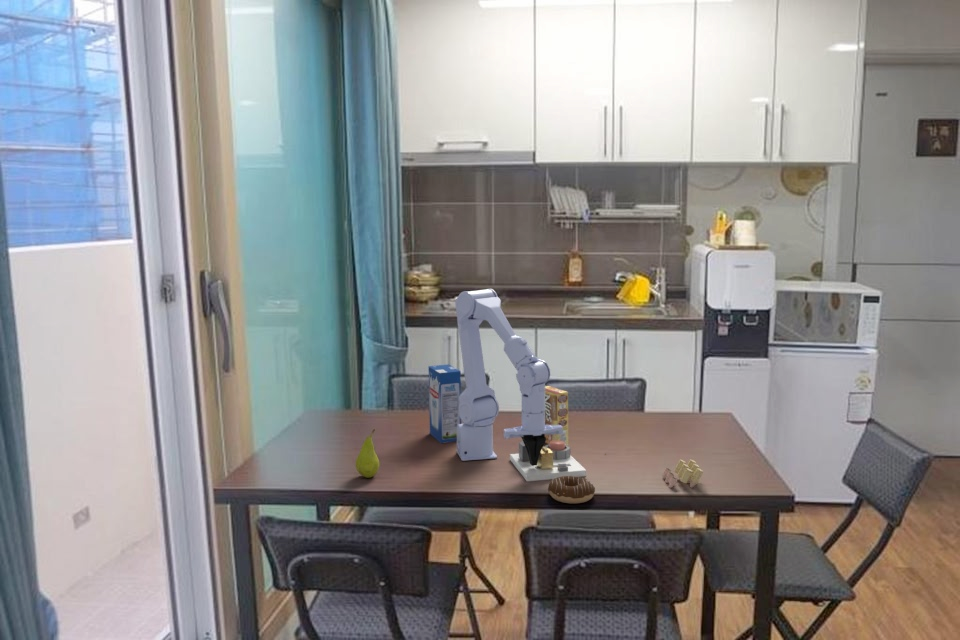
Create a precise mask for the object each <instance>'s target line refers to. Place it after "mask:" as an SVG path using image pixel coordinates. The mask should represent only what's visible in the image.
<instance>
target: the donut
mask: <svg viewBox="0 0 960 640" xmlns="http://www.w3.org/2000/svg"><path fill="white" fill-rule="evenodd" d="M547 490H548V494H549V495H550V496H551V498H552V499H554V500H555V501H557V502H561V503H564V504H582V503H586V502H588V501H590V500H592V498H593V497H594V495H595V492H596V488H595V486H594V483H592V482H591V481H589V480H587V479H585V478H584V477H575V476H562V477H557V478H555V479H551V480H550V481H549V483H548V487H547Z"/></svg>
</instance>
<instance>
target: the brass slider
mask: <svg viewBox="0 0 960 640" xmlns="http://www.w3.org/2000/svg"><path fill="white" fill-rule="evenodd" d="M545 446H546V445H543V447H542V449H541V452H540V454H539V458H538V462H537V465H538V466H539V467H540V468H541V469H550V468H553V452H552V451H551V450H550V449H549V448H546V447H545Z"/></svg>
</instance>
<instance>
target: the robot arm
mask: <svg viewBox="0 0 960 640" xmlns="http://www.w3.org/2000/svg"><path fill="white" fill-rule="evenodd" d="M498 296H499V295H498V294H497V292H496V291H495V290H494V289H493V288H486V289H478V290H477V289H476V290H470V291H468V290H467V291H466V290H464V291H461V292H460V293H459V295H458V296H457V298H456V299H455V301H454V304H455V310H456V318H457V319H456V320H457V329H458V336H459V343H460V344H459V346H460V351H461V352H460V353H461V357H462V365H463V375H464V382H465V389H464V390H462V391H461V395H460V396H459V401H460V404H459V416H460V418H461V422H462V423H461V424H458V425H457V441H456V454H457V455H458V456H459V458H460V460H461V461H462V462H465V461H466V462H467V461H477V460H488V459H497V458H498V455H497V454H496V453H495V451H494V440H493V439H494V438H493V437H494V433H493V431H494V430H493V427H494V426H493V424H494V422H495V420H496V417H497V416H498V415H499V413H500V405H499V402H498V400H497V397H496V393H495V390H494V389H492V388H491V386H489V385H488V384H487V377H486V371H485V363H484V357H483V355H484V354H483V349H482V342H481V333H480V327H479V326H480V325H481V324H482V322H483V321H486V322H487V323H489V325H490V326H491V328H492V329H493V330H494V331H495V333H496V334H497V335H498V336H499V338H500V340H501V341H502V342H503V343H504V345H503V352H504V353H505V355H506V356H507V358H508V359H509V361H510V362H511V363H512V365H513V366H514V368H515V370H516V371H517V373H515V377H516V378H515V379H516V380H517V383H518V385H519V391H520V393H521V426H516V427H515V426H514V427H510V428H504V429H503V437H504V439H505V440H510V439H511V438H521V440H522V442H524V444H525V447H526V449H527V452H528V456H529V461H530V464H531V465H532V466H534V465H537V462H538V458H539V454H540V452H541V449H542V447H544V446H545V444H546V443H545V442H546V438H545V435H552V434H558V435H563V427H562V426H561V425H545V386H546V383H548V382H549V380H550V377H551V369H550V367H549V365H548V363H547V362H546V361H545V360H543V359H540V357H538V356H536V355H535V353H534V352H533V351H532V349H531V348H530V346H529V344H528V341H527V340H526V338H524V337H522V336H518V335H517V334H516V333H515V331H514V329H513V328H512V326H511V324H510V322H509V321H508V319H507V317H506V315H505V314H504V311H503V310H502V308H501V307H502V306H501V305H502V300H501V299H500V297H498Z"/></svg>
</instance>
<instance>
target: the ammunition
mask: <svg viewBox="0 0 960 640" xmlns="http://www.w3.org/2000/svg"><path fill="white" fill-rule="evenodd" d="M700 467H701V466H699V464H697V462H696V461H695V460H693V459H689V461H688V463H687V462H686V461H685V460H683V459H679V460H678V462H677V464H676V466H675V468H674V470H673V472H674V473H676V474H677V477H679V478H680V482H682V483H684V484H689V487H690V488H692V489H693V488H694V487H696V485H697V484H698V483H699V481H700V479H701V477H702V475H703V473H704V470H703V469H701V468H700ZM674 473H672V470H671V469H670V468H668V467H665V469H664V470H663V473H662V479H663V480H665V481H664V482H665V483H666V484H668V488H670V489H671V488H673V487H674V486H675V485H676V484H677V482H678V478H676V477H675V474H674Z"/></svg>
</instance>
